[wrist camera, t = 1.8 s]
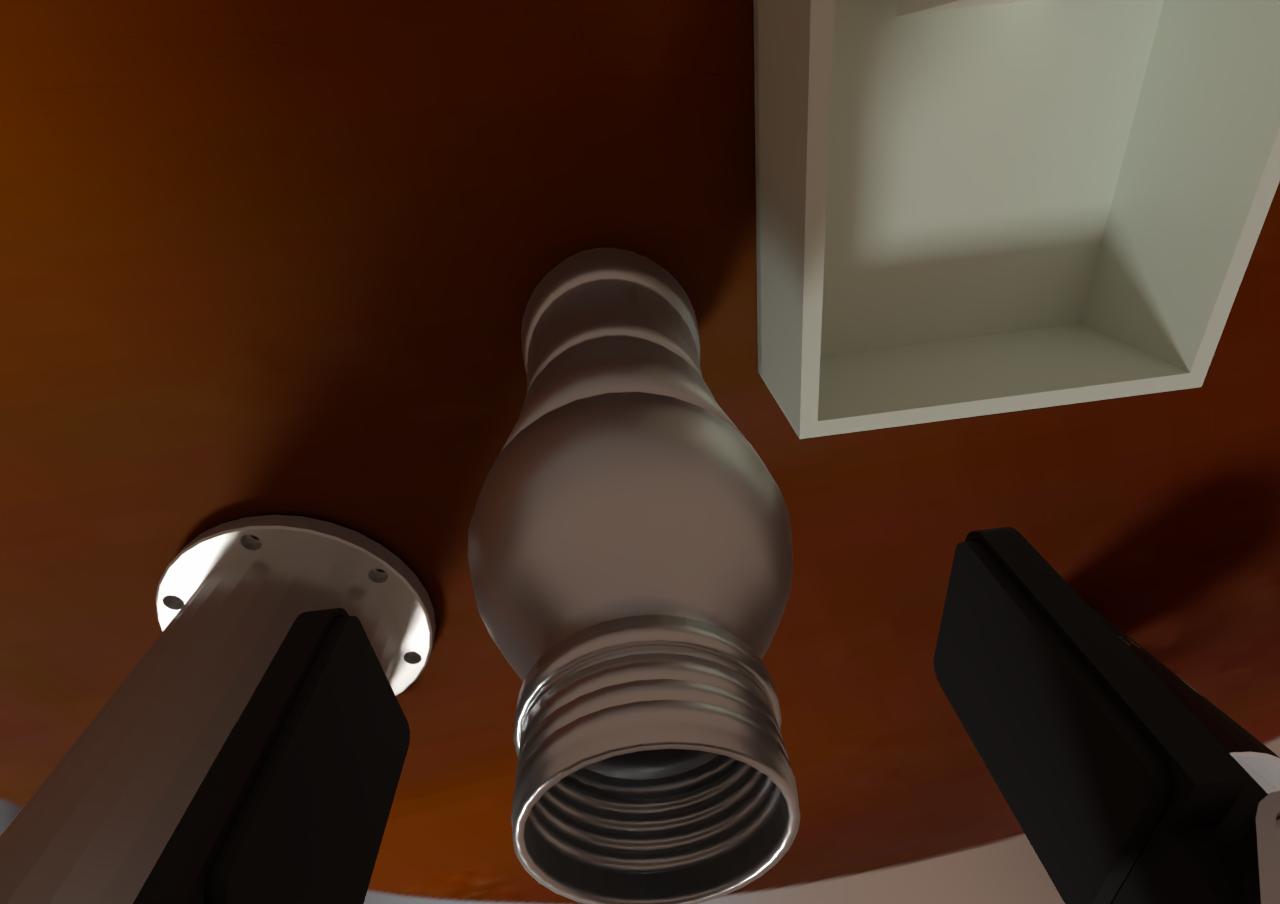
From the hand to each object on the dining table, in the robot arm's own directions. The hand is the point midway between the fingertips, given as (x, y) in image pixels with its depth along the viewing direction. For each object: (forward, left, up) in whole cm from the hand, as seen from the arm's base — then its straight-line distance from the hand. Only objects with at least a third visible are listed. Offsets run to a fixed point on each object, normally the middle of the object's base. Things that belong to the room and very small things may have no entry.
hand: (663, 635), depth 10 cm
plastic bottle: (0, 0, -17) cm, 17 cm away
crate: (+7, -13, -17) cm, 22 cm away
